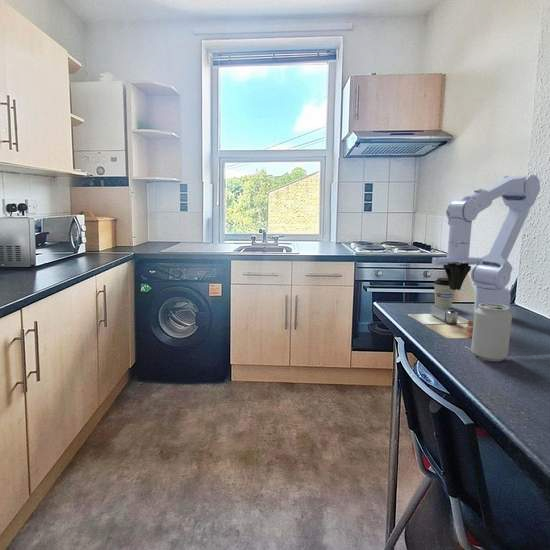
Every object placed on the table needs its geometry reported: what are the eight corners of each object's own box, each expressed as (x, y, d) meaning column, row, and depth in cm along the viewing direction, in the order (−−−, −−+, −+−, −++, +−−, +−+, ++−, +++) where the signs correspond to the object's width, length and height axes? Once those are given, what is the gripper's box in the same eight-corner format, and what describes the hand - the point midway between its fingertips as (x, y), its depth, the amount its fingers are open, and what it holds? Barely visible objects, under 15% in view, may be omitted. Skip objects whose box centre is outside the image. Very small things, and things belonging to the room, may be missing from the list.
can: (511, 364, 94) (518, 310, 92) (475, 361, 96) (480, 308, 94) (501, 352, 102) (506, 302, 99) (467, 349, 103) (471, 300, 101)
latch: (459, 324, 120) (460, 313, 120) (449, 324, 120) (450, 313, 119) (439, 313, 131) (440, 303, 130) (429, 314, 130) (430, 304, 130)
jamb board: (453, 315, 133) (454, 300, 132) (501, 339, 111) (503, 321, 110) (406, 316, 131) (408, 301, 130) (446, 341, 109) (448, 323, 108)
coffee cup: (432, 305, 146) (434, 276, 144) (454, 308, 143) (457, 278, 141) (430, 310, 140) (432, 279, 138) (453, 312, 137) (456, 281, 135)
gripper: (442, 244, 119) (438, 292, 121) (491, 244, 121) (486, 291, 123) (430, 241, 126) (426, 287, 128) (476, 241, 128) (471, 286, 130)
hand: (454, 289), depth 126 cm, fingers closed
